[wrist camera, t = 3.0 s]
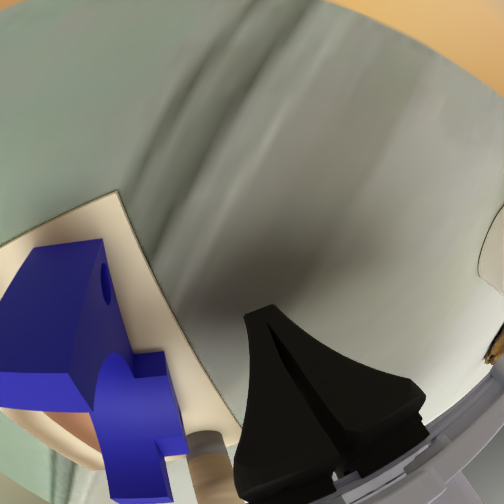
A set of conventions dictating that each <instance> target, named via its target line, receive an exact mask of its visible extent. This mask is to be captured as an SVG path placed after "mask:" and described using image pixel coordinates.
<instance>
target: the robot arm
mask: <svg viewBox="0 0 504 504" xmlns="http://www.w3.org/2000/svg"><path fill="white" fill-rule="evenodd" d="M243 318H244V321H245V324H246V328H247V333H248V340H249V354H250V375H249V390H248V399H247V406H246V413H245V418H244V423H243V427H242V432H241V436H240V440H239V443H238V446H237V450H236V453H235V456H234V467H233V478H234V485H235V488H236V491H237V494H238V497H239V498H240V499H243V500H245V501H247V502H249V504H323V503H326V502H328V501H330V500H333V499H335V498H337V497H339V496H341V495H342V497H343V499H344V501H345V503H346V504H351V503H353V502H355V503H353V504H483V503H482V501H481V500H480V498H479V497H478V495H477V494H476V492H475V491H474V489H473V488H472V486H471V485H470V483H469V482H468V480H467V479H466V478H465V476H464V475H463V473H462V472H461V470H462V469H463V468H464V467H465V466H466V465H467V464H468V463H469V462H470V461H471V460H472V459H473V458H474V457H475V456H476V455H477V454H478V453H479V452H480V451H481V450H482V449H483V448H484V447H485V446H486V445H487V444H488V442H489V441H490V440H491V439H492V438H493V437H494V436H495V434H496V433H497V432H498V431H499V429H501V427H502V426H503V425H504V354H503V355H502V356H501V357H500V358H499V359H498V360H497V361H496V363H495V364H494V365H493V367H492V368H491V370H490V372H489V373H488V374H487V375H486V376H485V377H484V378H483V379H482V380H481V381H480V382H479V383H478V384H477V385H476V386H475V387H474V388H473V389H472V390H471V391H470V392H468V393H467V394H466V395H465V396H464V397H463V398H462V399H461V400H459V401H458V402H457V403H456V404H455V405H454V406H452V407H451V408H450V409H449V410H448V411H446V412H445V413H444V414H443V415H441V416H440V417H439V418H438V419H436V420H435V421H434V422H432V423H431V424H430V425H429V426H427V427H425V426H424V425H423V423H422V422H421V421H422V417H421V415H420V414H419V413H418V412H419V410H420V409H421V407H422V405H423V404H424V402H425V400H426V395H425V394H424V392H423V391H422V390H421V389H420V388H419V387H418V386H417V385H416V384H415V383H414V382H413V381H412V380H411V379H408V378H404V377H400V376H396V375H392V374H389V373H385V372H382V371H379V370H376V369H373V368H371V367H368V366H366V365H363V364H361V363H358V362H356V361H354V360H352V359H350V358H347V357H345V356H343V355H341V354H340V353H338V352H336V351H334V350H332V349H331V348H329V347H327V346H326V345H324V344H322V343H321V342H319V341H318V340H316V339H315V338H313V337H312V336H311V335H309V334H308V333H306V332H305V331H304V330H303V329H301V328H300V327H299V326H297V325H296V324H295V323H294V322H292V321H291V320H290V319H289V318H288V317H287V316H286V315H285V314H283V313H282V312H281V311H280V310H279V309H278V308H277V307H276V305H274V304H271V305H269V306H266V307H263V308H261V309H258V310H255V311H253V312H250V313H247V314H245V315H244V317H243ZM431 441H432V443H431V445H430V446H429V447H428V443H430V442H431ZM404 473H405V474H404ZM401 475H402V476H401ZM332 478H333V480H334V482H333V480H332ZM358 500H359V501H358ZM356 501H357V502H356Z"/></svg>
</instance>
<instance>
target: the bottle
mask: <svg viewBox="0 0 504 504" xmlns="http://www.w3.org/2000/svg"><path fill="white" fill-rule="evenodd" d="M478 271H479V275H480V277H481V278H482V279H483V280H484V281H485V282H487V283H488V284H489V285H490V286H492V287H493V288H494V289H495V290H497V291H498V292H499V293H500V294H501V295H503V296H504V206H503V208H502V209H501V210H500V211H499V213H498V215H497V216H496V218H495V220H494V222H493V223H492V225H491V228H490V230H489V232H488V234H487V237H486V239H485V242H484V245H483V248H482V251H481V255H480V259H479V266H478Z"/></svg>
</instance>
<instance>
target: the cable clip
mask: <svg viewBox="0 0 504 504" xmlns="http://www.w3.org/2000/svg"><path fill="white" fill-rule="evenodd" d="M0 407H3V408H11V409H20V410H31V411H44V412H69V413H89V415H90V417H91V420H92V423H93V426H94V429H95V432H96V435H97V439H98V442H99V446H100V449H101V453H102V457H103V461H104V465H105V470H106V475H107V480H108V486H109V492H110V498H111V499H112V500H114V501H116V502H118V503H119V504H155V503H170V502H174V501H173V496H172V492H171V487H170V483H169V478H168V473H167V468H166V463H165V457H167V456H176V455H185V454H190V451H189V447H188V443H187V438H186V433H185V429H184V424H183V419H182V414H181V410H180V407H179V404H178V400H177V397H176V393H175V390H174V386H173V383H172V379H171V375H170V372H169V368H168V364H167V360H166V356H165V352H164V351H160V352H151V353H141V354H134V353H133V350H132V348H131V345H130V342H129V339H128V335H127V332H126V329H125V326H124V323H123V319H122V316H121V312H120V309H119V305H118V302H117V298H116V294H115V291H114V287H113V283H112V279H111V274H110V270H109V266H108V261H107V257H106V252H105V247H104V242H103V238H101V239H93V240H85V241H78V242H70V243H62V244H55V245H48V246H41V247H34V248H33V249H32V250H31V252H30V253H29V255H28V256H27V258H26V259H25V261H24V262H23V264H22V265H21V267H20V268H19V270H18V272H17V273H16V275H15V276H14V278H13V280H12V281H11V283H10V285H9V286H8V288H7V290H6V291H5V293H4V295H3V297H2V298H1V300H0Z"/></svg>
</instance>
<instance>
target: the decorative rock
mask: <svg viewBox="0 0 504 504" xmlns="http://www.w3.org/2000/svg"><path fill="white" fill-rule="evenodd" d="M503 354H504V326H503V327H502V332H501V334H500V335H499V336H497V337H496V339H495V342H494V343H493V345H492V346H491V348H490V349H489V350H488V352H487V354H486V355H485V363H486V364H489V363H490V364H492V365H494V364H495V363H496V361H497V360H498V359H499V358H500V357H501V356H502V355H503Z"/></svg>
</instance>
